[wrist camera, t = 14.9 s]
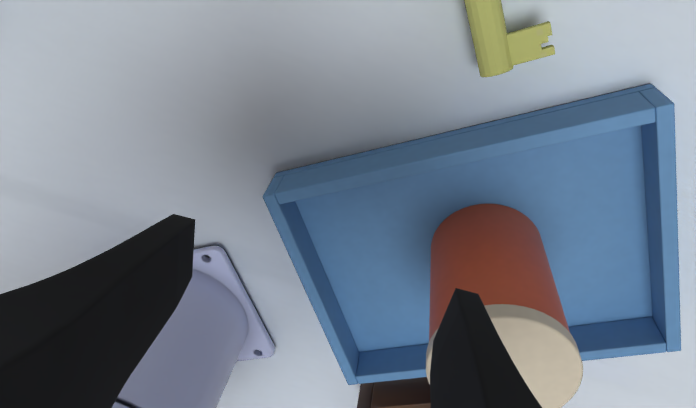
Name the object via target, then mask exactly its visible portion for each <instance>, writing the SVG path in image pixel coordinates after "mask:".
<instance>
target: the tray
mask: <svg viewBox="0 0 696 408" xmlns="http://www.w3.org/2000/svg"><path fill="white" fill-rule="evenodd" d="M263 199H264V201H265V203H266V205H267V208H268V210H269V212H270V214H271V216H272V219H273V221H274V223H275V225H276V227H277V229H278V232H279V234H280V236H281V238H282V240H283V243H284V245H285V247H286V249H287V251H288V254H289V256H290V258H291V260H292V262H293V265H294V267H295V269H296V271H297V273H298V276H299V278H300V280H301V282H302V284H303V287H304V289H305V291H306V293H307V295H308V298H309V300H310V302H311V304H312V306H313V309H314V311H315V313H316V315H317V317H318V319H319V322H320V324H321V326H322V328H323V330H324V333H325V335H326V337H327V339H328V341H329V344H330V346H331V348H332V350H333V352H334V355H335V357H336V359H337V361H338V363H339V366H340V368H341V370H342V372H343V374H344V377H345V379H346V381H347V383H348V385H353V384H358V383H359V384H363V383H373V382H382V381H392V380H402V379H411V378H421V377H427V375H426V351H427V346H428V343H429V318H430V267H431V243H432V238H433V236H434V233H435V231H436V230H437V228H438V227H439V225H440V224H441V223H442V222H443V221H444V220H445V219H446V218H447V217H448V216H450V215H451V214H453V213H454V212H456V211H458V210H460V209H463V208H465V207H468V206H472V205H477V204H498V205H504V206H507V207H510V208H513V209H515V210H517V211H519V212H521V213H523V214H524V215H525V216H527V217H528V218H529V219H530V220H531V221H532V222H533V223H534V225H535V226H536V227H537V229H538V231H539V233H540V236H541V239H542V242H543V246H544V249H545V252H546V256H547V259H548V262H549V265H550V269H551V272H552V275H553V278H554V282H555V285H556V288H557V292H558V295H559V298H560V301H561V305H562V308H563V311H564V315H565V318H566V321H567V324H568V328H569V331H570V334H571V335H572V336H573V338H574V340H575V342H576V344H577V347H578V350H579V353H580V356H581V360H582V361H585V360H595V359H604V358H614V357H624V356H633V355H643V354H653V353H662V352H666V351H667V352H673V351H681V328H680V292H679V257H678V221H677V185H676V149H675V113H674V103H673V102H672V101H671V100H670V99H668V98H667V97H666V96H665V95H664V94H663V93H661V92H660V91H659V90H658V89H657V88H655V87H654V86H653V85H652V84H647V85H643V86H639V87H635V88H631V89H626V90H622V91H618V92H614V93H610V94H605V95H601V96H597V97H593V98H589V99H585V100H580V101H576V102H572V103H568V104H564V105H559V106H555V107H551V108H547V109H543V110H538V111H534V112H530V113H526V114H522V115H517V116H513V117H509V118H505V119H501V120H496V121H492V122H488V123H484V124H480V125H476V126H471V127H467V128H463V129H459V130H455V131H450V132H446V133H442V134H438V135H434V136H429V137H425V138H421V139H417V140H413V141H408V142H404V143H400V144H396V145H392V146H387V147H383V148H379V149H375V150H371V151H366V152H362V153H358V154H354V155H350V156H346V157H341V158H337V159H333V160H329V161H325V162H320V163H316V164H312V165H308V166H304V167H299V168H295V169H291V170H287V171H283V172H278V173H276V174H275V176H274V178H273V179H272V181H271V183H270V185H269V186H268V188H267V190H266V191H265V193H264V195H263Z"/></svg>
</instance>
